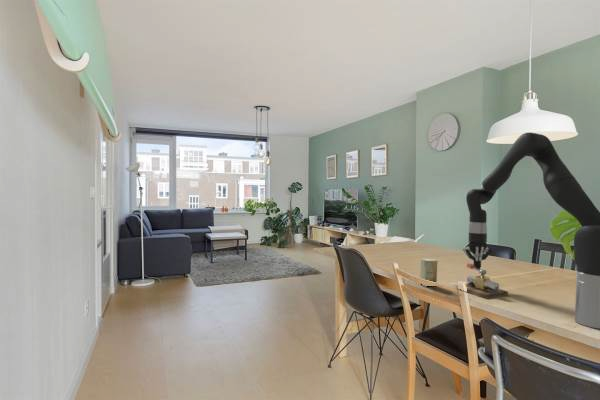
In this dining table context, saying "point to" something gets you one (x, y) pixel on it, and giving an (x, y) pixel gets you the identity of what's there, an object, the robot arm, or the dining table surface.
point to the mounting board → (485, 292)
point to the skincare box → (428, 270)
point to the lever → (476, 268)
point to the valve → (483, 283)
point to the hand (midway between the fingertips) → (477, 268)
